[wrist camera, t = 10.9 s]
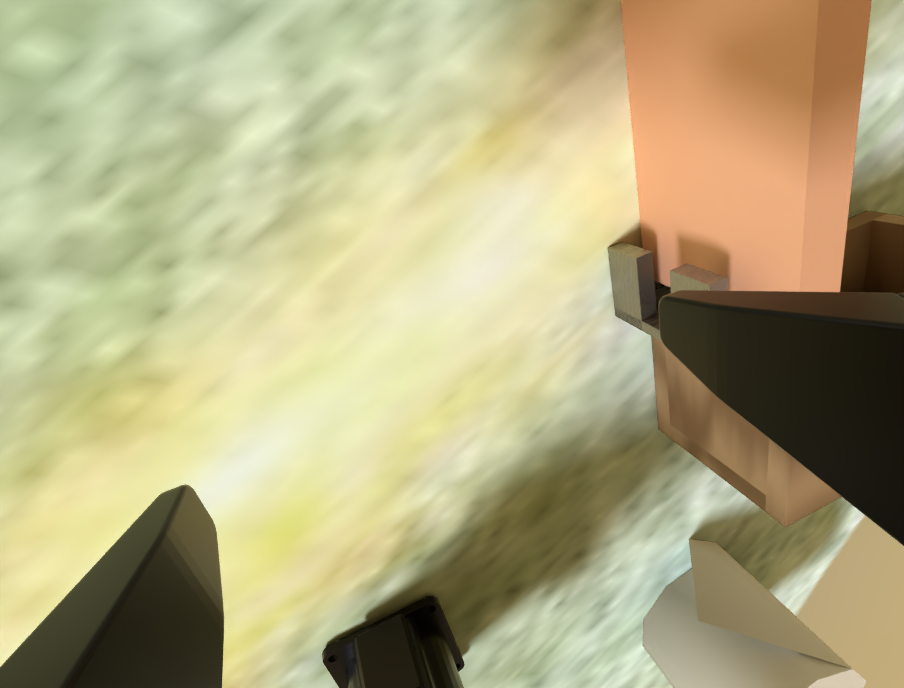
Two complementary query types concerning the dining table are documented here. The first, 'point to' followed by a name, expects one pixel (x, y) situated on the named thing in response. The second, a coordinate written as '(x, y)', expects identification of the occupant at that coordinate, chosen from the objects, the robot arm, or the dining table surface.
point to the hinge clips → (650, 285)
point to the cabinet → (732, 437)
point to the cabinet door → (746, 135)
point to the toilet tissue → (735, 632)
